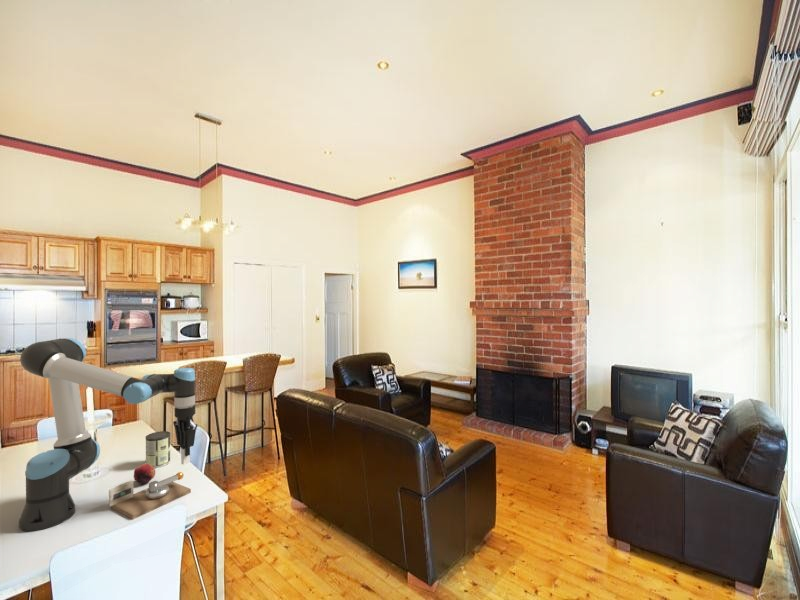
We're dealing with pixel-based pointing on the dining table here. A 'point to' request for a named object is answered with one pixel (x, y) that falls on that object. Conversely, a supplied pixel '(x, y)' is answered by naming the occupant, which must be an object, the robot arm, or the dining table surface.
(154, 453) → the coffee can
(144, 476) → the fruit
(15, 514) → the dining table surface
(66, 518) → the robot arm
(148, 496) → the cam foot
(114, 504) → the stand
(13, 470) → the dining table surface
